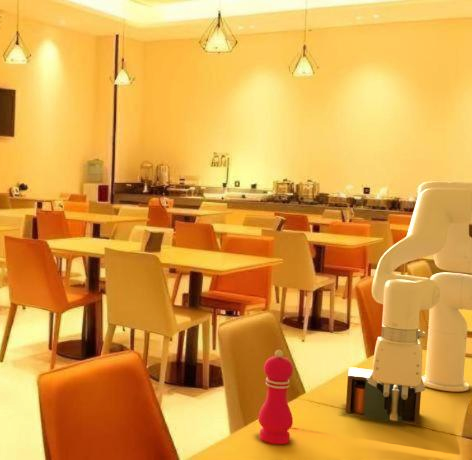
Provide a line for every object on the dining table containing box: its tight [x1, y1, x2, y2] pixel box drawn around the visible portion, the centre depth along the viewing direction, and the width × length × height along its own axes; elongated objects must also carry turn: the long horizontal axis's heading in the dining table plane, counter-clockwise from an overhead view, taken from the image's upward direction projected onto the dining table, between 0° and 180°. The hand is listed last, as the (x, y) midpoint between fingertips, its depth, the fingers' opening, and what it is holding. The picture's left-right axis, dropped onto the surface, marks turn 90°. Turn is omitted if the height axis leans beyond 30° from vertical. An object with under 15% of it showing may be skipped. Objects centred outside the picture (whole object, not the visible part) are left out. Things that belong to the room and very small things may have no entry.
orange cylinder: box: [353, 385, 365, 414], centre depth 184 cm, size 4×4×6 cm
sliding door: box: [362, 378, 402, 423], centre depth 176 cm, size 7×8×10 cm
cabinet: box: [345, 367, 422, 424], centre depth 183 cm, size 8×16×10 cm, turn 65°
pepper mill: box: [257, 349, 294, 445], centre depth 165 cm, size 7×7×20 cm
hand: (394, 413), depth 173 cm, fingers closed on sliding door
